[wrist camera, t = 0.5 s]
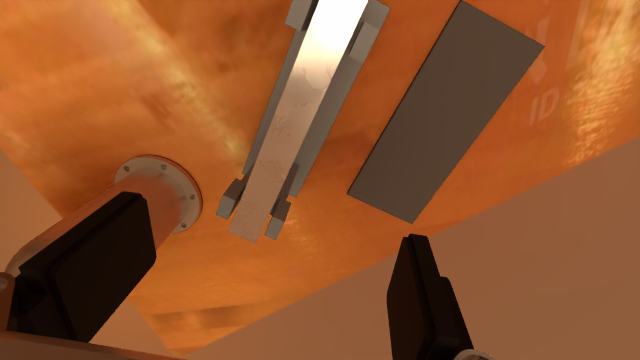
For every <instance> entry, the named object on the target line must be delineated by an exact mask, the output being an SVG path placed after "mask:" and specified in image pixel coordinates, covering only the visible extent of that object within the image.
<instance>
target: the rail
mask: <svg viewBox="0 0 640 360" xmlns="http://www.w3.org/2000/svg"><path fill="white" fill-rule="evenodd" d="M367 1H368V0H319V3H318V5H317V8H316V11H315V13H314V16H313V18H312V21H311V23H310V26H309V28H308V31H307V33H306V36H305V38H304V41H303V43H302V46H301V48H300V51H299V54H298V56H297V59H296V61H295V64H294V66H293V69H292V71H291V74H290V76H289V79H288V81H287V84H286V86H285V89H284V91H283V94H282V97H281V99H280V102H279V104H278V107H277V109H276V112H275V114H274V117H273V119H272V122H271V124H270V127H269V129H268V132H267V134H266V137H265V139H264V142H263V145H262V147H261V150H260V152H259V155H258V157H257V160H256V162H255V165H254V167H253V170H252V172H251V175H250V177H249V180H248V182H247V185H246V188H245V190H244V193H243V195H242V198H241V200H240V203H239V205H238V208H237V210H236V213H235V215H234V218H233V220H232V223H231V225H230V228H229V230H228V232H230V233H233V234H235V235H238V236H240V237H242V238H245V239H247V240H249V241H252V242H254V243H256V242H257V240H258V237H259V235H260V233H261V231H262V229H263V227H264V224H265V222H266V220H267V218H268V216H269V214H270V211H271V209H272V207H273V205H274V203H275V201H276V198H277V196H278V194H279V192H280V190H281V188H282V185H283V183H284V181H285V179H286V177H287V175H288V172H289V170H290V168H291V166H292V164H293V162H294V159H295V157H296V155H297V153H298V151H299V149H300V146H301V144H302V142H303V140H304V138H305V136H306V133H307V131H308V129H309V127H310V125H311V123H312V120H313V118H314V116H315V114H316V112H317V110H318V107H319V105H320V103H321V101H322V99H323V97H324V94H325V92H326V90H327V88H328V86H329V84H330V81H331V79H332V77H333V75H334V73H335V71H336V68H337V66H338V64H339V62H340V60H341V58H342V55H343V53H344V51H345V49H346V47H347V45H348V42H349V40H350V38H351V36H352V34H353V32H354V29H355V27H356V25H357V23H358V21H359V19H360V16H361V14H362V12H363V10H364V8H365V6H366V3H367Z"/></svg>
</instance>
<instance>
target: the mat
mask: <svg viewBox="0 0 640 360" xmlns="http://www.w3.org/2000/svg"><path fill="white" fill-rule="evenodd" d="M544 47H545V46H543V45H542V44H540V43H538V42H536V41H534V40H533V39H531V38H529V37H527V36H525V35H524V34H522V33H520V32H518V31H516V30H515V29H513V28H511V27H509V26H507V25H506V24H504V23H502V22H500V21H498V20H496V19H495V18H493V17H491V16H489V15H487V14H486V13H484V12H482V11H480V10H478V9H477V8H475V7H473V6H471V5H469V4H468V3H466V2H464V1H462V0H460V1H459V3H458V5H457V6H456V8H455V10H454V12H453V13H452V15H451V17H450V18H449V20H448V22H447V24H446V25H445V27H444V29H443V30H442V32H441V34H440V35H439V37H438V39H437V41H436V42H435V44H434V46H433V47H432V49H431V51H430V52H429V54H428V56H427V58H426V59H425V61H424V63H423V64H422V66H421V68H420V70H419V71H418V73H417V75H416V76H415V78H414V80H413V81H412V83H411V85H410V87H409V88H408V90H407V92H406V93H405V95H404V97H403V99H402V100H401V102H400V104H399V105H398V107H397V109H396V110H395V112H394V114H393V116H392V117H391V119H390V121H389V122H388V124H387V126H386V127H385V129H384V131H383V133H382V134H381V136H380V138H379V139H378V141H377V143H376V145H375V146H374V148H373V150H372V151H371V153H370V155H369V156H368V158H367V160H366V162H365V163H364V165H363V167H362V168H361V170H360V172H359V174H358V175H357V177H356V179H355V180H354V182H353V184H352V185H351V187H350V189H349V191H348V192H347V195H349V196H352V197H354V198H356V199H358V200H360V201H362V202H365V203H367V204H369V205H371V206H373V207H376V208H378V209H380V210H382V211H384V212H387V213H389V214H391V215H393V216H395V217H398V218H400V219H402V220H404V221H406V222H408V223H411V224H413V222H414V221H415V219H416V218H417V217H418V215H419V214H420V213H421V211H422V210H423V209H424V207H425V206H426V205H427V203H428V202H429V201H430V199H431V198H432V197H433V195H434V194H435V193H436V191H437V190H438V189H439V187H440V186H441V185H442V183H443V182H444V181H445V179H446V178H447V177H448V175H449V174H450V173H451V171H452V170H453V169H454V167H455V166H456V165H457V163H458V162H459V161H460V159H461V158H462V157H463V155H464V154H465V153H466V151H467V150H468V149H469V147H470V146H471V145H472V143H473V142H474V141H475V139H476V138H477V137H478V135H479V134H480V133H481V131H482V130H483V129H484V127H485V126H486V125H487V123H488V122H489V121H490V119H491V118H492V117H493V115H494V114H495V113H496V111H497V110H498V109H499V107H500V106H501V105H502V103H503V102H504V101H505V99H506V98H507V97H508V95H509V94H510V93H511V91H512V90H513V89H514V87H515V86H516V85H517V83H518V82H519V81H520V79H521V78H522V77H523V75H524V74H525V73H526V71H527V70H528V69H529V67H530V66H531V65H532V63H533V62H534V61H535V59H536V58H537V57H538V55H539V54H540V53H541V51H542V50H543V49H544Z"/></svg>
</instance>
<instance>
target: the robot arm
mask: <svg viewBox="0 0 640 360" xmlns="http://www.w3.org/2000/svg"><path fill="white" fill-rule="evenodd" d="M201 208H202V200H201V194H200V191H199V189H198V187H197V185H196V183H195V181H194V180H193V179H192V178H191V176H190V175H189V174H188V173H187V172H186V171H185V170H184V169H183V168H181V167H180V166H179V165H177V164H176V163H174V162H172V161H170V160H168V159H165V158H162V157H159V156H153V155H141V156H137V157H134V158H132V159H130V160H128V161H127V162H125V163H124V164H122V165H121V166H120V168H119V169H118V170H117V172H116V175H115V178H114V185H113V186H111V187H110V188H108V189H107V190H105V191H104V192H102V193H101V194H99V195H98V196H96V197H95V198H93V199H92V200H90V201H89V202H87V203H86V204H84V205H83V206H81V207H80V208H78V209H77V210H76V211H74V212H73V213H71V214H70V215H68V216H67V217H65V218H64V219H62V220H61V221H59V222H58V223H56V224H55V225H53V226H52V227H50V228H49V229H47V230H46V231H45V232H43V233H42V234H40V235H39V236H37V237H36V238H34V239H33V240H31V241H30V242H29V243H27V244H26V245H24V246H23V247H22V248H21V249H20V250H19V251H18V252H17V253H16V254H15V255H14V256H13V258H12V259H11V261H10V262H9V264H8V265H7V267H6V269H5V272H0V360H185V359H179V358H174V357H168V356H162V355H156V354H150V353H145V352H138V351H132V350H127V349H121V348H114V347H109V346H103V345H96V344H91V343H88V342H89V341H90V340H91V339H92V338H93V337H94V336H95V334H96V333H97V332H98V331H99V329H100V328H101V327H102V326H103V325H104V323H105V322H106V321H107V320H108V319H109V317H110V316H111V315H112V314H113V313H114V312H115V310H116V309H117V308H118V307H119V305H120V304H121V303H122V302H123V301H124V300H125V298H126V297H127V296H128V295H129V294H130V292H131V291H132V290H133V289H134V287H135V286H136V285H137V284H138V283H139V281H140V280H141V279H142V278H143V277H144V275H145V274H146V273H147V272H148V271H149V269H150V268H151V267H152V266H153V265H154V263H155V261H156V250H157V249H158V247H159V246H160V245H161V244H162V243H163V242H164V241H165V239H166V238H167V237H168V236H169V235H170V234H171V233H178V232H182V231H184V230H187V229H188V228H189V227H191V226H192V225H193V224H194V222H195V221H196V220H197V218H198V217H199V215H200V212H201ZM387 309H388V318H389V328H390V338H391V348H392V357H393V360H496V359H495V358H494V357H492V356H490V355H489V354H487V353H484V352H482V351H479V350H474V347H473V345H472V342H471V339H470V336H469V334H468V331H467V328H466V325H465V322H464V319H463V317H462V314H461V311H460V308H459V305H458V302H457V300H456V297H455V294H454V291H453V288H452V286H451V283H450V281H449V279H448V278H447V277H441V276H440V274H439V272H438V268H437V265H436V262H435V259H434V256H433V253H432V250H431V247H430V243H429V240H428V238H427V236H423V235H417V234H409V236H408V237H403V239H402V242H401V246H400V249H399V253H398V256H397V260H396V263H395V267H394V270H393V274H392V277H391V281H390V284H389V288H388V291H387Z"/></svg>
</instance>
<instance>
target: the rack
mask: <svg viewBox="0 0 640 360" xmlns="http://www.w3.org/2000/svg"><path fill="white" fill-rule="evenodd" d="M318 3H319V0H293V1H292V4H291V7H290V10H289V12H288V15H287V18H286V21H285V24H287V25H289V26H291V27H293V28H295V29H296V32H295V35H294V37H293V40H292V42H291V45H290V48H289V50H288V53H287V56H286V58H285V61H284V64H283V66H282V69H281V71H280V74H279V77H278V79H277V82H276V85H275V87H274V90H273V93H272V95H271V98H270V100H269V103H268V106H267V108H266V111H265V114H264V116H263V119H262V122H261V124H260V127H259V129H258V132H257V135H256V137H255V140H254V143H253V145H252V148H251V151H250V153H249V156H248V158H247V161H246V164H245V166H244V169H243V172H242V174H244V175H245V176H244V177H243V179H242V180H239V179H235V180H234V181H233V182H232V184H231V185H230V186H229V188H228V189H227V190H226V192H225V193H224V194H223V196H222V199H221V202H220V204H219V207H218V210H217V213H216V215H218V216H221V217H223V218H225V219H228V218H229V217H230V215H231V214H232V212H233V210H234V209H235V207H236V206H237V204H238V203H239V201H240V200H241V198H242V195H243V193H244V190H245V188H246V185H247V182H248V180H249V177H250V175H251V172H252V170H253V167H254V165H255V162H256V160H257V157H258V155H259V152H260V150H261V147H262V145H263V142H264V139H265V137H266V134H267V132H268V129H269V127H270V124H271V122H272V119H273V117H274V114H275V112H276V109H277V107H278V104H279V102H280V99H281V97H282V94H283V91H284V89H285V86H286V84H287V81H288V79H289V76H290V74H291V71H292V69H293V66H294V64H295V61H296V59H297V56H298V54H299V51H300V48H301V46H302V43H303V41H304V38H305V36H306V33H307V31H308V28H309V26H310V23H311V21H312V18H313V16H314V13H315V11H316V8H317V5H318ZM390 9H391V8H390V7H388V6H386V5H384V4H382V3H380V2H378V1H377V0H368V1H367V3H366V6H365V8H364V10H363V12H362V14H361V16H360V19H359V21H358V23H357V25H356V27H355V29H354V32H353V34H352V36H351V38H350V40H349V42H348V45H347V47H346V49H345V51H344V53H343V55H342V58H341V60H340V62H339V64H338V66H337V68H336V71H335V73H334V75H333V77H332V79H331V81H330V84H329V86H328V88H327V90H326V92H325V94H324V97H323V99H322V101H321V103H320V105H319V107H318V110H317V112H316V114H315V116H314V118H313V120H312V123H311V125H310V127H309V129H308V131H307V133H306V136H305V138H304V140H303V142H302V144H301V146H300V149H299V151H298V153H297V155H296V157H295V159H294V162H293V164H292V166H291V168H290V170H289V172H288V175H287V177H286V179H285V181H284V183H283V185H282V188H281V190H280V192H279V194H278V196H277V198H276V201H275V203H274V205H273V207H272V209H271V211H270V214H271V215H273V216H272V218H271V220H270V223H269V225H268V227H267V230H266V232H265V234H264V235H265V236H267V237H270V238H272V239H275V240H276V238H277V236H278V234H279V232H280V230H281V228H282V226H283V224H284V222H285V219H286V216H287V213H288V211H289V208H290V205H291V203H290V202H288V201H286V199H287V197H288V194H289V195H291V196H293V197H297V195H298V193H299V191H300V189H301V187H302V185H303V183H304V181H305V179H306V177H307V175H308V173H309V171H310V169H311V167H312V165H313V163H314V161H315V159H316V157H317V155H318V153H319V151H320V149H321V147H322V145H323V143H324V141H325V139H326V137H327V135H328V133H329V131H330V129H331V127H332V125H333V123H334V121H335V119H336V117H337V115H338V113H339V111H340V109H341V107H342V105H343V103H344V101H345V99H346V97H347V95H348V93H349V91H350V89H351V87H352V85H353V83H354V81H355V79H356V77H357V75H358V73H359V71H360V69H361V67H362V65H363V63H364V61H365V59H366V57H367V55H368V53H369V51H370V49H371V47H372V45H373V43H374V41H375V39H376V37H377V35H378V33H379V31H380V29H381V27H382V25H383V23H384V21H385V19H386V17H387V15H388V13H389V11H390Z"/></svg>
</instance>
